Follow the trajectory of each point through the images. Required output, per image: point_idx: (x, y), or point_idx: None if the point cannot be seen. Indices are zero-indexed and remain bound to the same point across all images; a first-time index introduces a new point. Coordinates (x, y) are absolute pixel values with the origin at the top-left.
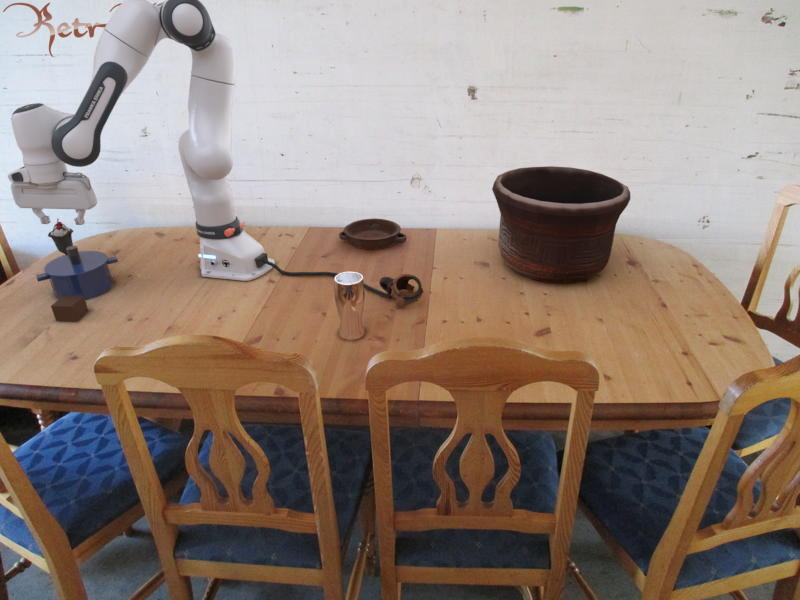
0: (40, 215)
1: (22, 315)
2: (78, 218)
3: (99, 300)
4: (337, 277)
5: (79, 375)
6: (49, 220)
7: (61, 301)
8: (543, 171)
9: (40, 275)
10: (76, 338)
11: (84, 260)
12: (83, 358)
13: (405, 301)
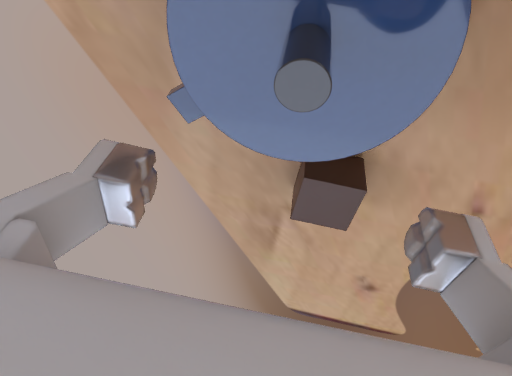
0: (84, 233)
1: (196, 148)
2: (455, 301)
3: None
4: None
5: (386, 316)
6: (148, 166)
7: (310, 206)
8: None
9: (186, 103)
10: (359, 247)
11: (341, 24)
12: (385, 291)
13: None
